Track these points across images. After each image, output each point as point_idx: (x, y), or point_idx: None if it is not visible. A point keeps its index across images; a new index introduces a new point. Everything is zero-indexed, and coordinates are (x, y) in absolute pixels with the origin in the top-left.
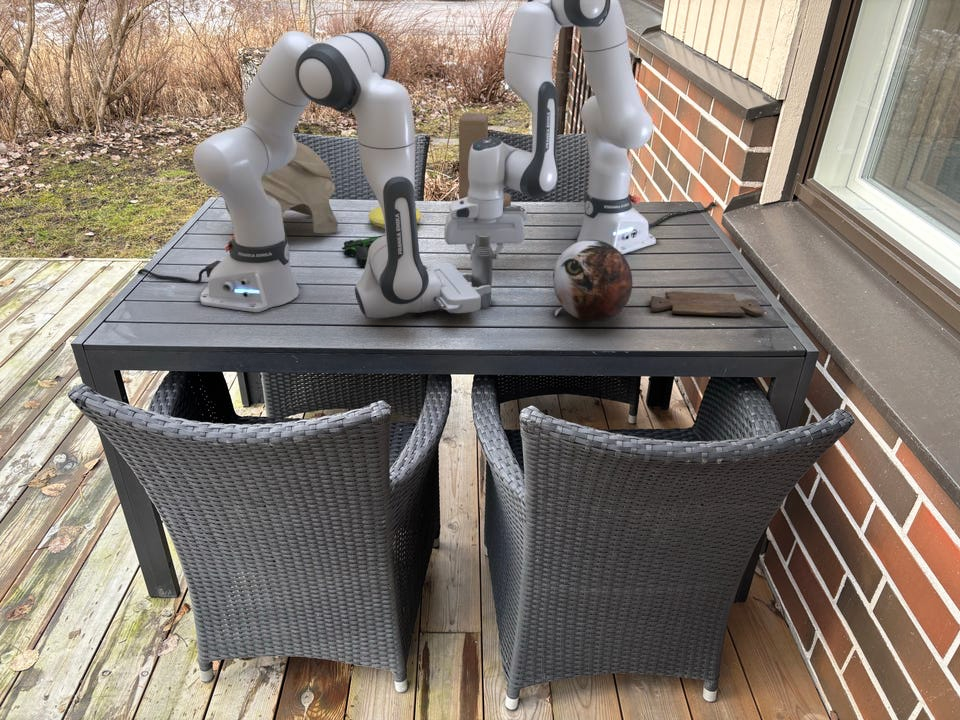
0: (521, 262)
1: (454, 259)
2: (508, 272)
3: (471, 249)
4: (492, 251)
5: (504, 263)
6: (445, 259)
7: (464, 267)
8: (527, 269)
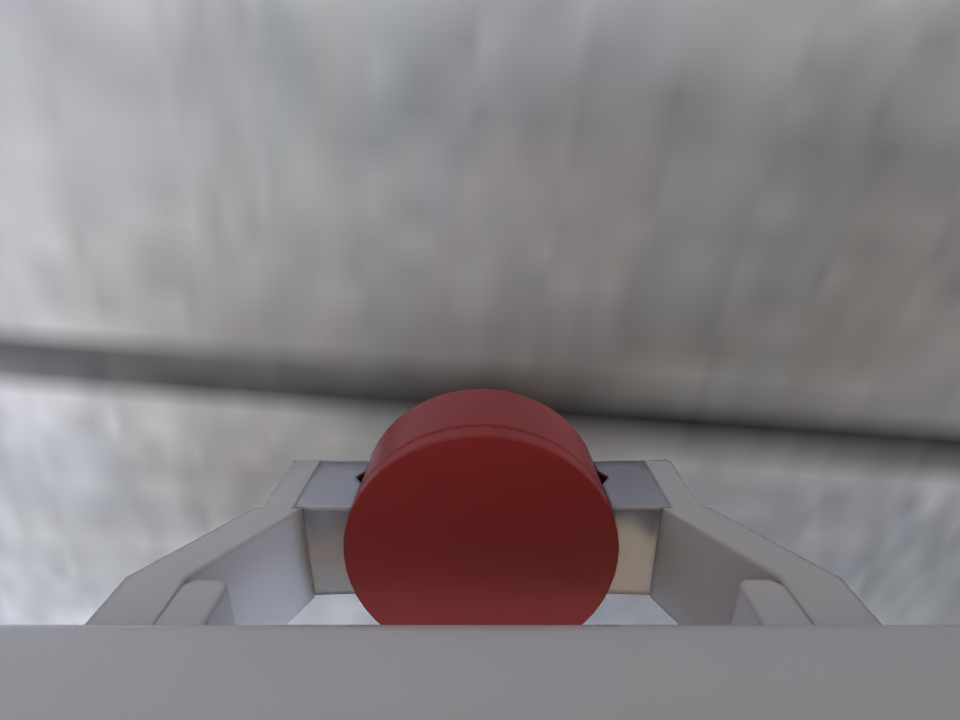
0: (950, 251)
1: (139, 81)
2: (712, 486)
3: (264, 573)
4: (609, 575)
5: (743, 265)
6: (20, 71)
7: (280, 338)
8: (925, 437)
